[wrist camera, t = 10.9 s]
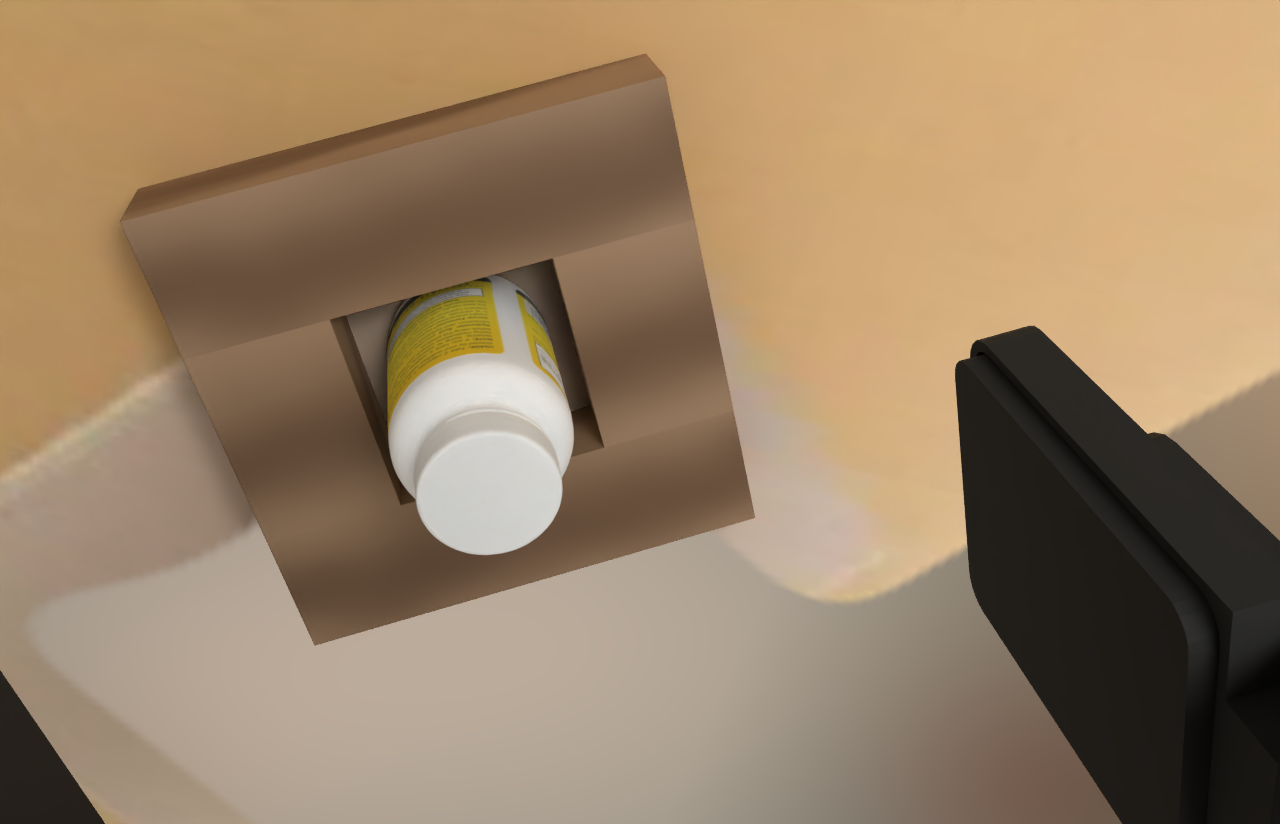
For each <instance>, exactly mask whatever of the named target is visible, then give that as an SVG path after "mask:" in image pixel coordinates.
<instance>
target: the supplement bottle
mask: <svg viewBox="0 0 1280 824" xmlns="http://www.w3.org/2000/svg"><path fill="white" fill-rule="evenodd" d="M387 397H388V441H389V450H390V456H391V460H392V464H393V467H394V469H395V472H396V474H397V476H398V478H399V479H400V481H401V483H402V484H403V486H404V487H405V488H406V489H407V491H408V492H409V493H410V494H411V495H412V496H413V497H414V498H415V499H416V505H417V510H418V513H419V515H420V518H421V520H422V522H423V523H424V525H425V526H426V528H427V529H428V530H429V531H430V533H431V534H432V535H433V536H434V537H436V538H437V539H438V540H439V541H441V542H442V543H444V544H445V545H447V546H449V547H451V548H453V549H455V550H458V551H462V552H465V553H469V554H476V555H493V554H501V553H506V552H510V551H513V550H516V549H518V548H521V547H523V546H525V545H527V544H528V543H530V542H532V541H533V540H535V539H536V538H537V537H538V536H539V535H541V534H542V533H543V532H544V531H545V530H546V529H547V528H548V526H549V525H550V524H551V522H552V521H553V519H554V518H555V516H556V514H557V512H558V509H559V507H560V504H561V499H562V492H563V487H562V477H563V475H564V473H565V471H566V469H567V466H568V464H569V461H570V458H571V454H572V450H573V443H574V428H573V422H572V415H571V411H570V408H569V404H568V400H567V397H566V394H565V390H564V386H563V383H562V379H561V376H560V372H559V369H558V365H557V362H556V358H555V354H554V351H553V347H552V344H551V340H550V336H549V333H548V330H547V326H546V323H545V321H544V319H543V316H542V314H541V312H540V310H539V309H538V307H537V306H536V304H535V303H534V301H533V300H532V299H531V297H530V296H529V295H528V294H527V293H526V292H524V291H523V290H522V289H521V288H520V287H518V286H517V285H515V284H514V283H512V282H511V281H509V280H507V279H505V278H502V277H499V276H497V275H490V276H487V277H483V278H479V279H476V280H472V281H469V282H465V283H461V284H458V285H454V286H450V287H447V288H443V289H439V290H436V291H432V292H429V293H425V294H421V295H418V296H414V297H410V298H407V299H405V300H404V302H403V303H402V304H401V306H400V307H399V309H398V311H397V312H396V314H395V316H394V319H393V321H392V324H391V327H390V331H389V336H388V343H387Z"/></svg>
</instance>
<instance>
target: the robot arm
mask: <svg viewBox="0 0 1280 824" xmlns="http://www.w3.org/2000/svg"><path fill="white" fill-rule="evenodd" d="M955 381H956V395H957V409H958V422H959V436H960V450H961V464H962V477H963V491H964V505H965V519H966V533H967V546H968V560H969V572H970V579H971V583H972V587H973V590H974V593H975V596H976V598H977V601H978V603H979V605H980V607H981V609H982V610H983V612H984V614H985V615H986V617H987V618H988V620H989V621H990V623H991V624H992V626H993V627H994V629H995V630H996V632H997V634H998V635H999V637H1000V638H1001V640H1002V641H1003V643H1004V644H1005V646H1006V647H1007V649H1008V650H1009V652H1010V653H1011V655H1012V656H1013V658H1014V659H1015V661H1016V662H1017V664H1018V666H1019V667H1020V668H1021V670H1022V672H1023V673H1024V675H1025V676H1026V678H1027V679H1028V681H1029V682H1030V684H1031V685H1032V686H1033V688H1034V690H1035V691H1036V693H1037V694H1038V696H1039V698H1040V699H1041V701H1042V702H1043V704H1044V705H1045V707H1046V708H1047V710H1048V711H1049V713H1050V714H1051V716H1052V717H1053V719H1054V720H1055V722H1056V723H1057V725H1058V726H1059V728H1060V730H1061V731H1062V733H1063V734H1064V736H1065V737H1066V739H1067V740H1068V742H1069V743H1070V745H1071V746H1072V748H1073V749H1074V751H1075V752H1076V754H1077V755H1078V757H1079V758H1080V760H1081V761H1082V763H1083V765H1084V766H1085V768H1086V769H1087V771H1088V772H1089V774H1090V775H1091V777H1092V778H1093V780H1094V781H1095V783H1096V784H1097V786H1098V787H1099V789H1100V791H1101V792H1102V794H1103V795H1104V797H1105V798H1106V800H1107V801H1108V803H1109V804H1110V806H1111V807H1112V809H1113V810H1114V812H1115V813H1116V815H1117V816H1118V818H1119V819H1120V821H1121V822H1122V824H1280V541H1279V540H1278V539H1277V538H1276V537H1275V536H1274V535H1273V534H1272V533H1271V532H1270V531H1269V530H1268V529H1267V528H1266V527H1264V526H1263V525H1262V524H1261V523H1260V522H1259V521H1258V520H1257V519H1256V518H1255V517H1254V516H1253V515H1252V514H1251V513H1250V512H1248V510H1247V509H1245V508H1244V507H1243V506H1242V505H1241V504H1240V503H1239V502H1238V501H1237V500H1236V499H1235V498H1234V497H1233V496H1232V495H1231V494H1230V493H1229V492H1228V491H1226V490H1225V489H1224V488H1223V487H1222V486H1221V485H1220V484H1219V483H1218V482H1217V481H1216V480H1215V479H1214V478H1213V477H1212V476H1211V475H1210V474H1209V473H1208V472H1207V471H1206V470H1204V469H1203V468H1202V467H1201V466H1200V465H1199V464H1198V463H1197V462H1196V461H1195V460H1194V459H1193V458H1192V457H1191V456H1190V455H1189V454H1188V453H1186V452H1185V451H1184V450H1183V449H1182V448H1181V447H1180V446H1179V445H1178V444H1177V443H1176V442H1174V441H1173V440H1172V439H1170V438H1169V437H1167V436H1166V435H1165V434H1160V433H1154V432H1153V433H1150V434H1147V433H1146V432H1145V431H1144V430H1143V429H1142V428H1141V427H1140V426H1139V425H1138V424H1137V423H1136V422H1135V421H1134V420H1133V419H1132V418H1130V417H1129V416H1128V415H1127V414H1126V413H1125V412H1124V411H1123V410H1122V409H1121V408H1120V407H1119V406H1118V405H1117V404H1116V403H1115V402H1114V401H1113V400H1112V399H1111V398H1110V397H1109V396H1108V395H1107V394H1106V393H1105V392H1104V391H1103V390H1102V389H1101V388H1100V387H1099V386H1098V385H1097V384H1096V383H1095V382H1094V381H1092V380H1091V379H1090V378H1089V377H1088V376H1087V375H1086V374H1085V373H1084V372H1083V371H1082V370H1081V369H1080V368H1079V367H1078V366H1077V365H1076V364H1075V363H1074V362H1073V361H1072V360H1071V359H1070V358H1069V357H1068V356H1067V355H1066V354H1065V353H1064V352H1063V351H1062V350H1061V349H1060V348H1059V347H1058V346H1057V345H1055V344H1054V343H1053V342H1052V341H1051V340H1050V339H1049V338H1048V337H1047V336H1046V335H1045V334H1044V333H1043V332H1042V331H1041V330H1040V329H1038V328H1037V327H1035V326H1027V327H1023V328H1020V329H1016V330H1013V331H1009V332H1005V333H1002V334H998V335H995V336H991V337H988V338H984V339H980V340H977V341H975V342H974V343H973V344H972V348H971V352H970V358H969V359H965V360H962V361H959V362H958V363H957V364H956V368H955ZM0 824H105V823H104V821H103V820H102V818H101V817H100V816H99V814H98V813H97V811H96V810H95V808H94V807H93V805H92V804H91V802H90V801H89V799H88V798H87V796H86V795H85V794H84V792H83V791H82V789H81V788H80V786H79V785H78V783H77V782H76V780H75V779H74V777H73V776H72V775H71V773H70V772H69V770H68V769H67V767H66V766H65V764H64V763H63V761H62V760H61V758H60V757H59V756H58V754H57V753H56V751H55V750H54V748H53V747H52V745H51V744H50V742H49V741H48V739H47V738H46V737H45V735H44V734H43V732H42V731H41V729H40V728H39V726H38V725H37V723H36V722H35V720H34V719H33V717H32V716H31V715H30V713H29V712H28V710H27V709H26V707H25V706H24V704H23V703H22V701H21V700H20V698H19V697H18V696H17V694H16V693H15V691H14V690H13V688H12V687H11V685H10V684H9V682H8V681H7V679H6V678H5V677H4V675H3V674H2V672H1V671H0Z"/></svg>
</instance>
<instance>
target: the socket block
mask: <svg viewBox="0 0 1280 824" xmlns="http://www.w3.org/2000/svg"><path fill="white" fill-rule="evenodd" d="M120 224H121V226H122V228H123V230H124V233H125V235H126V237H127V239H128V241H129V243H130V246H131V248H132V250H133V252H134V254H135V256H136V259H137V261H138V263H139V265H140V267H141V269H142V272H143V274H144V276H145V278H146V280H147V282H148V285H149V287H150V289H151V291H152V293H153V296H154V298H155V300H156V302H157V304H158V306H159V309H160V311H161V313H162V315H163V317H164V319H165V322H166V324H167V326H168V328H169V330H170V332H171V335H172V337H173V339H174V341H175V343H176V345H177V348H178V350H179V352H180V354H181V356H182V358H183V361H184V363H185V365H186V367H187V369H188V371H189V374H190V376H191V378H192V380H193V382H194V385H195V387H196V389H197V391H198V393H199V395H200V398H201V400H202V402H203V404H204V406H205V408H206V411H207V413H208V415H209V417H210V419H211V421H212V424H213V426H214V428H215V430H216V432H217V434H218V437H219V439H220V441H221V443H222V445H223V447H224V450H225V452H226V454H227V456H228V458H229V460H230V463H231V465H232V467H233V469H234V471H235V474H236V476H237V478H238V480H239V482H240V484H241V487H242V489H243V491H244V493H245V495H246V497H247V500H248V502H249V504H250V506H251V508H252V510H253V513H254V515H255V517H256V519H257V521H258V523H259V526H260V528H261V530H262V532H263V534H264V536H265V539H266V541H267V543H268V545H269V547H270V549H271V552H272V554H273V556H274V558H275V560H276V563H277V565H278V567H279V569H280V571H281V573H282V576H283V578H284V580H285V582H286V584H287V586H288V588H289V590H290V593H291V595H292V597H293V599H294V601H295V604H296V606H297V608H298V610H299V612H300V615H301V617H302V619H303V621H304V623H305V625H306V627H307V630H308V632H309V634H310V636H311V638H312V641H313V643H314V645H318V644H321V643H325V642H328V641H332V640H335V639H338V638H342V637H346V636H349V635H352V634H356V633H359V632H363V631H366V630H369V629H373V628H376V627H380V626H383V625H387V624H390V623H393V622H397V621H400V620H404V619H408V618H411V617H415V616H418V615H421V614H425V613H428V612H432V611H435V610H439V609H442V608H446V607H449V606H452V605H456V604H459V603H463V602H466V601H470V600H473V599H477V598H480V597H483V596H487V595H490V594H494V593H497V592H501V591H504V590H507V589H511V588H515V587H518V586H521V585H525V584H528V583H532V582H535V581H539V580H542V579H546V578H549V577H552V576H556V575H559V574H563V573H566V572H569V571H573V570H577V569H580V568H584V567H587V566H590V565H594V564H597V563H601V562H604V561H608V560H611V559H614V558H618V557H622V556H625V555H628V554H632V553H635V552H639V551H642V550H645V549H649V548H653V547H656V546H659V545H663V544H666V543H670V542H673V541H677V540H680V539H683V538H687V537H690V536H694V535H697V534H700V533H704V532H708V531H711V530H715V529H718V528H722V527H725V526H728V525H732V524H735V523H739V522H742V521H746V520H749V519H753V518H755V515H754V510H753V505H752V500H751V495H750V490H749V485H748V480H747V476H746V471H745V466H744V461H743V456H742V451H741V446H740V441H739V436H738V431H737V427H736V422H735V417H734V412H733V407H732V402H731V397H730V392H729V387H728V382H727V377H726V373H725V368H724V363H723V358H722V353H721V348H720V343H719V338H718V333H717V328H716V323H715V319H714V314H713V309H712V304H711V299H710V294H709V289H708V284H707V279H706V274H705V270H704V265H703V260H702V255H701V250H700V245H699V240H698V235H697V230H696V225H695V220H694V216H693V211H692V206H691V201H690V196H689V191H688V186H687V181H686V176H685V171H684V166H683V162H682V157H681V152H680V147H679V142H678V137H677V132H676V127H675V122H674V117H673V113H672V108H671V103H670V98H669V93H668V88H667V83H666V78H665V75H664V74H663V73H662V72H661V71H660V70H659V69H658V67H657V66H656V65H655V64H654V63H653V62H652V60H651V59H650V58H649V57H648V56H647V55H646V54H643V55H639V56H636V57H632V58H628V59H624V60H621V61H617V62H613V63H609V64H606V65H602V66H598V67H594V68H591V69H587V70H583V71H579V72H576V73H572V74H568V75H564V76H561V77H557V78H553V79H549V80H546V81H542V82H538V83H534V84H531V85H527V86H523V87H519V88H516V89H512V90H508V91H504V92H501V93H497V94H493V95H489V96H486V97H482V98H478V99H474V100H471V101H467V102H463V103H459V104H456V105H452V106H448V107H444V108H441V109H437V110H433V111H429V112H426V113H422V114H418V115H414V116H411V117H407V118H403V119H399V120H396V121H392V122H388V123H384V124H381V125H377V126H373V127H369V128H366V129H362V130H358V131H354V132H351V133H347V134H343V135H339V136H336V137H332V138H328V139H324V140H321V141H317V142H313V143H309V144H306V145H302V146H298V147H294V148H291V149H287V150H283V151H279V152H276V153H272V154H268V155H264V156H261V157H257V158H253V159H249V160H246V161H242V162H238V163H234V164H231V165H227V166H223V167H219V168H216V169H212V170H208V171H204V172H201V173H197V174H193V175H189V176H186V177H182V178H178V179H175V180H171V181H167V182H163V183H160V184H156V185H152V186H148V187H145V188H141V189H138V191H137V192H136V194H135V196H134V198H133V199H132V201H131V203H130V205H129V207H128V208H127V210H126V212H125V214H124V216H123V217H122V219H121V221H120ZM549 259H551V260H552V264H553V268H554V271H555V275H556V279H557V282H558V286H559V290H560V293H561V297H562V301H563V304H564V308H565V312H566V315H567V319H568V323H569V326H570V330H571V334H572V337H573V341H574V345H575V348H576V352H577V356H578V360H579V363H580V367H581V371H582V374H583V378H584V382H585V385H586V389H587V393H588V396H589V400H590V404H591V406H589V407H586V408H582V409H579V410H575V411H572V412H571V415H572V422H573V428H574V443H573V450H572V454H571V458H570V461H569V464H568V466H567V469H566V471H565V473H564V475H563V477H562V487H563V492H562V499H561V504H560V507H559V509H558V512H557V514H556V516H555V518H554V519H553V521H552V522H551V524H550V525H549V526H548V528H547V529H546V530H545V531H544V532H543V533H542V534H541V535H539V536H538V537H537V538H536V539H535V540H533V541H532V542H530V543H528V544H527V545H525V546H523V547H521V548H518V549H516V550H513V551H510V552H506V553H501V554H493V555H476V554H469V553H465V552H462V551H458V550H455V549H453V548H451V547H449V546H447V545H445V544H444V543H442V542H441V541H439V540H438V539H437V538H436V537H434V536H433V535H432V534H431V533H430V531H429V530H428V529H427V528H426V526H425V525H424V523H423V522H422V520H421V518H420V515H419V513H418V510H417V505H416V499H415V498H414V497H413V496H412V495H411V494H410V493H409V492H408V491H407V489H406V488H405V487H404V486H403V484H402V483H401V481H400V479H399V478H398V476H397V474H396V472H395V469H394V467H393V464H392V460H391V456H390V450H389V441H388V428H387V425H386V422H385V420H384V417H383V414H382V412H381V409H380V406H379V404H378V401H377V398H376V396H375V393H374V390H373V388H372V385H371V382H370V380H369V377H368V374H367V372H366V369H365V366H364V364H363V361H362V358H361V356H360V353H359V350H358V348H357V345H356V342H355V340H354V337H353V334H352V332H351V329H350V326H349V324H348V321H347V318H346V316H345V315H349V314H352V313H356V312H360V311H363V310H367V309H370V308H374V307H378V306H381V305H385V304H389V303H392V302H396V301H399V300H403V299H407V298H410V297H414V296H418V295H421V294H425V293H429V292H432V291H436V290H439V289H443V288H447V287H450V286H454V285H458V284H461V283H465V282H469V281H472V280H476V279H479V278H483V277H487V276H490V275H494V274H498V273H501V272H505V271H509V270H512V269H516V268H519V267H523V266H527V265H530V264H534V263H538V262H541V261H545V260H549Z"/></svg>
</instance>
